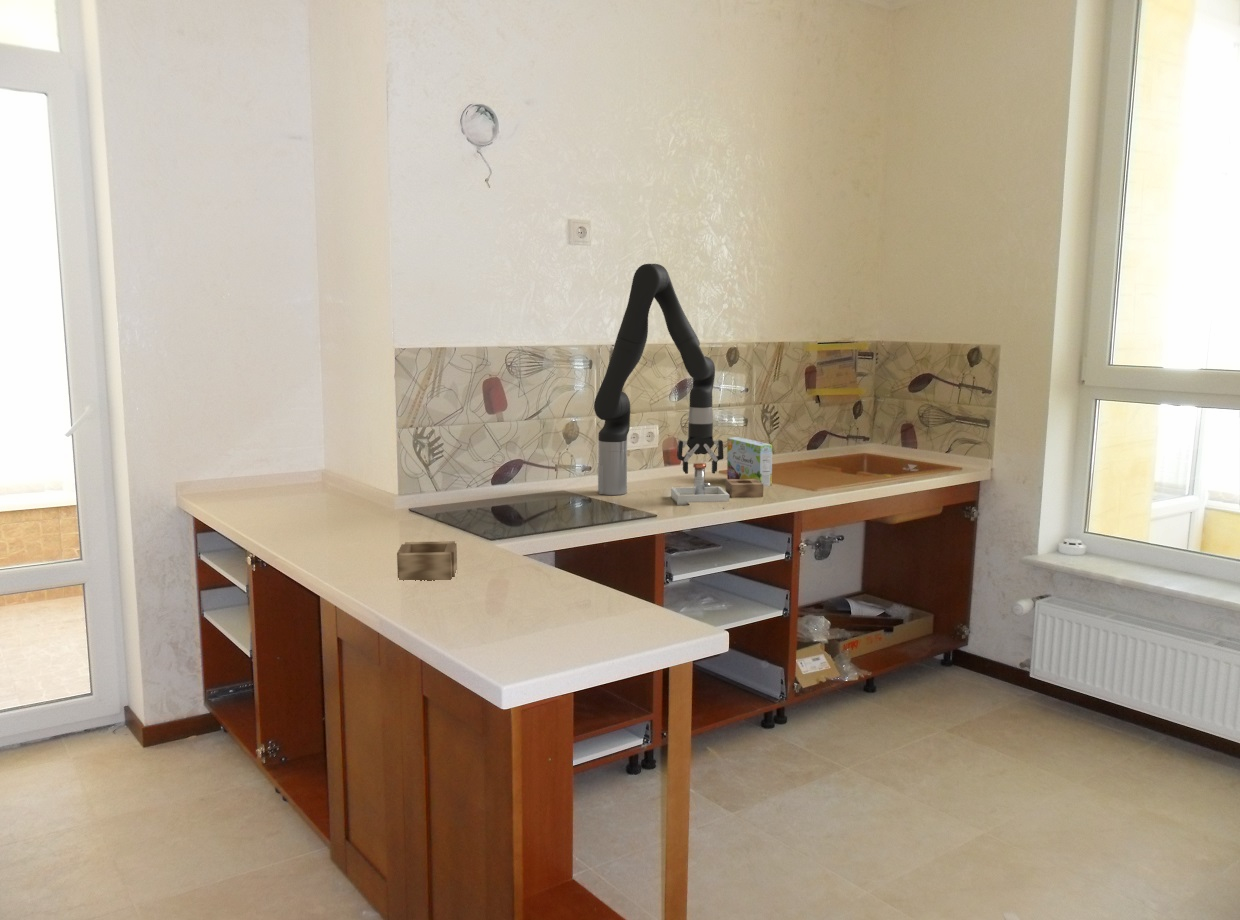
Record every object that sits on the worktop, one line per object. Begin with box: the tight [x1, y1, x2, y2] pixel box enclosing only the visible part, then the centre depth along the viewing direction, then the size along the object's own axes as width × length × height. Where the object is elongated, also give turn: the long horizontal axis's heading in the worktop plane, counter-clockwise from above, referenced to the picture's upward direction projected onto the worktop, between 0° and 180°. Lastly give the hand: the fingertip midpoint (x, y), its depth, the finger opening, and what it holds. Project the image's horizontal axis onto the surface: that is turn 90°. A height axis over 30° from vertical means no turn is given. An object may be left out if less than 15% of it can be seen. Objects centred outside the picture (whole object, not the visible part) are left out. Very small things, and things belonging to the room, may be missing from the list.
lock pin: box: [692, 462, 707, 495], centre depth 299 cm, size 4×4×11 cm
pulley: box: [705, 482, 718, 487], centre depth 310 cm, size 7×7×4 cm
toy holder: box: [396, 540, 458, 581], centre depth 210 cm, size 12×12×7 cm
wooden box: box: [724, 478, 764, 499], centre depth 305 cm, size 10×10×5 cm
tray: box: [670, 486, 730, 506], centre depth 300 cm, size 16×14×3 cm
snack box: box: [726, 436, 773, 487], centre depth 329 cm, size 21×6×15 cm, turn 25°
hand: (699, 473), depth 299 cm, fingers open, 8 cm apart
